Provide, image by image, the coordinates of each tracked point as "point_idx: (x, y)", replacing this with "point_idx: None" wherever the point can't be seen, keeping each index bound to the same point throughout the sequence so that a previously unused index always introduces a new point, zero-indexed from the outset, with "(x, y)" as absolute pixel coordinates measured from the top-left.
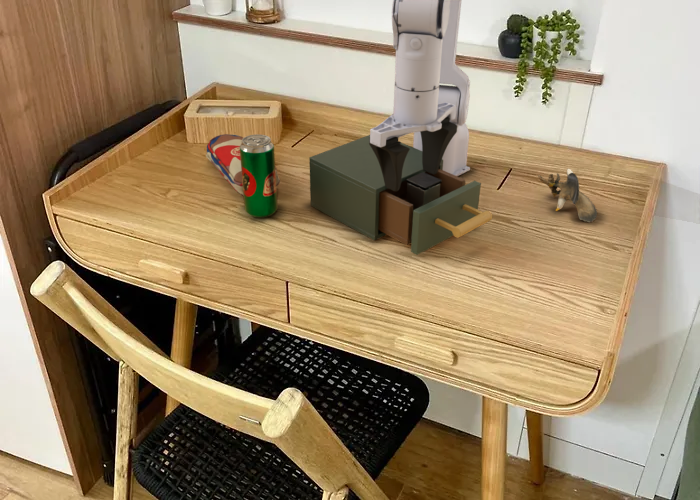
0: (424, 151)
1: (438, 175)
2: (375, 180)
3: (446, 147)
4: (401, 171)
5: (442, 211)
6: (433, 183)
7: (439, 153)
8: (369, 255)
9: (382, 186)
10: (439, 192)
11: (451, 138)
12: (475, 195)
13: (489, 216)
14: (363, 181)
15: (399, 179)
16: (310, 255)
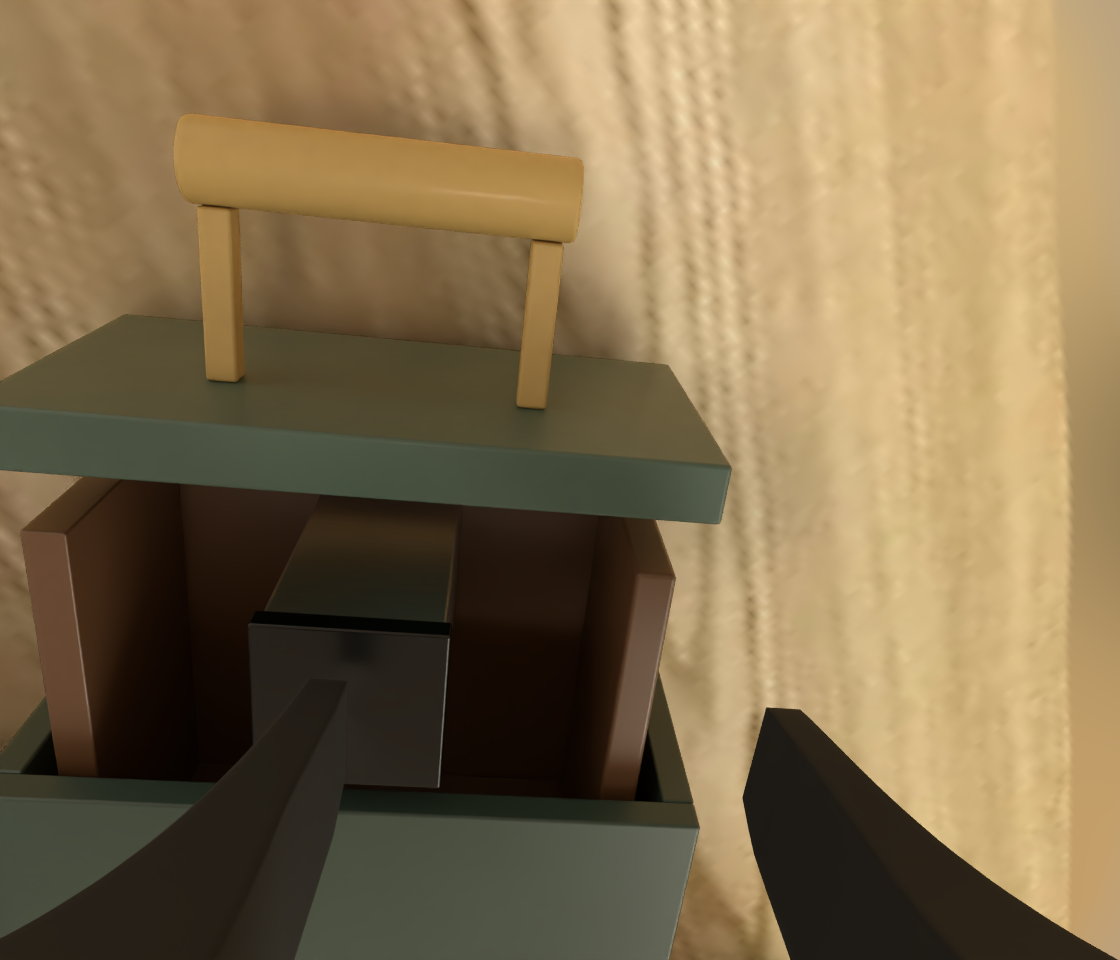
0: (301, 922)
1: (107, 709)
2: (596, 895)
3: (168, 832)
4: (861, 820)
5: (467, 415)
6: (346, 634)
7: (284, 810)
8: (764, 548)
9: (638, 826)
10: (284, 574)
11: (69, 907)
12: (69, 379)
13: (217, 122)
14: (658, 927)
15: (834, 768)
16: (912, 715)
